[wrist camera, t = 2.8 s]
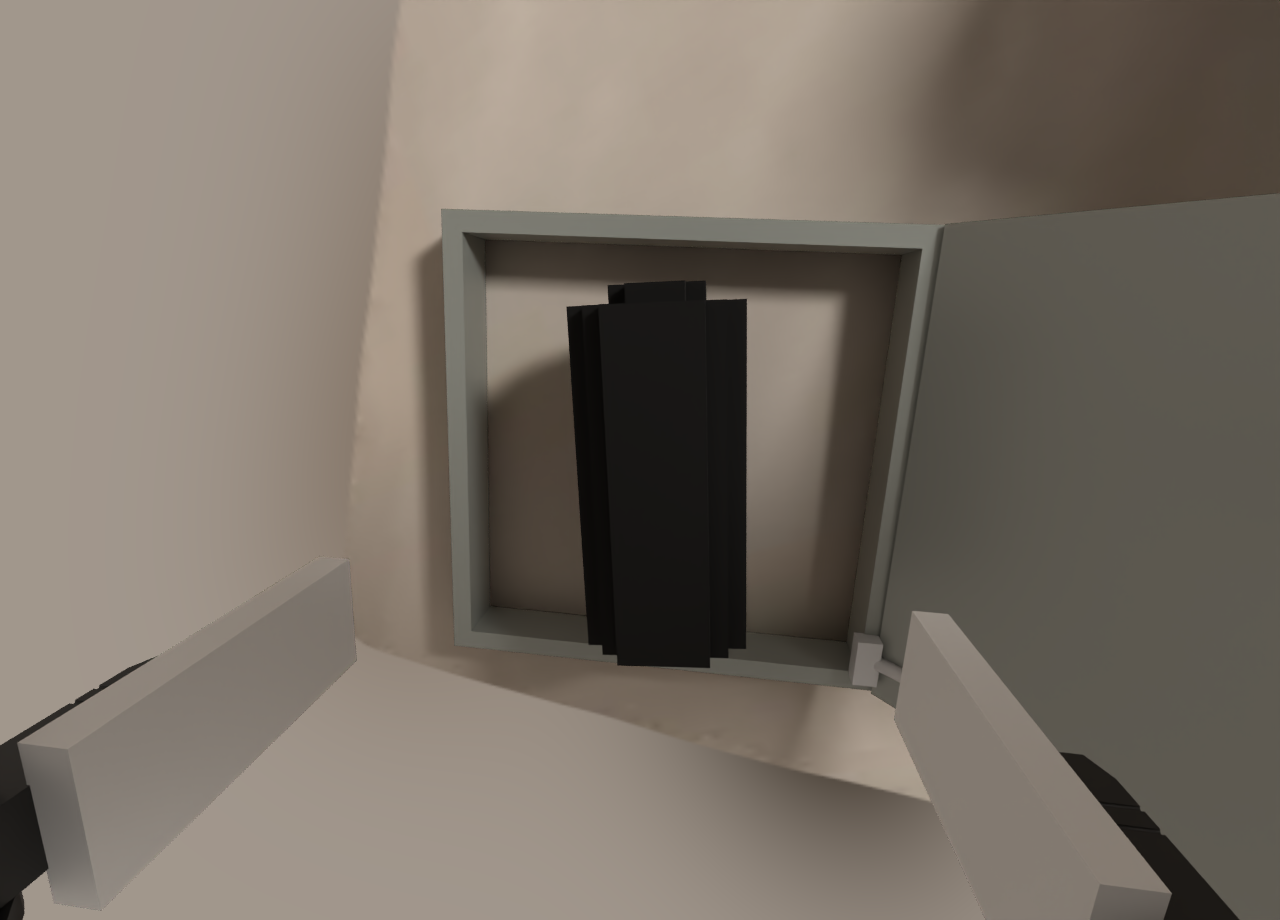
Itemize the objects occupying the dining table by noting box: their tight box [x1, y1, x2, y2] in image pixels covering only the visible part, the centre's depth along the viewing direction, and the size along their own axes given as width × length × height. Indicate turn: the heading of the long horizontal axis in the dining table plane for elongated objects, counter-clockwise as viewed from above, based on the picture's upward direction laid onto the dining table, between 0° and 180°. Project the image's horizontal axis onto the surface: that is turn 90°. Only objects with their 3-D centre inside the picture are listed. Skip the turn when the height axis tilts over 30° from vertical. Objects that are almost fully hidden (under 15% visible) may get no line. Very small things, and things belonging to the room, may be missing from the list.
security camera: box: [567, 281, 747, 668], centre depth 28 cm, size 7×18×10 cm, turn 2°
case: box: [441, 193, 1280, 920], centre depth 22 cm, size 23×38×21 cm, turn 87°
